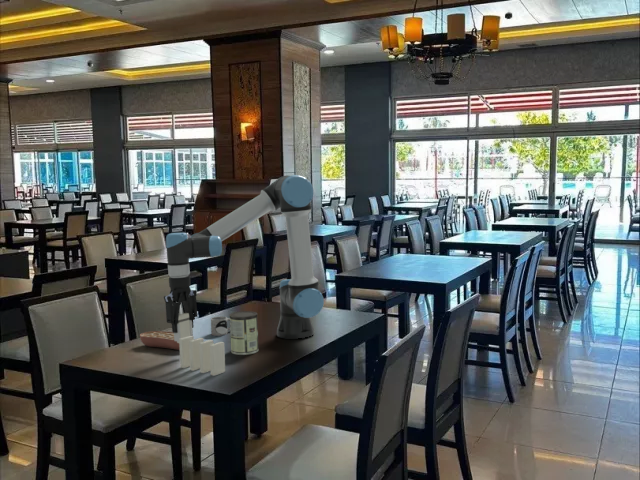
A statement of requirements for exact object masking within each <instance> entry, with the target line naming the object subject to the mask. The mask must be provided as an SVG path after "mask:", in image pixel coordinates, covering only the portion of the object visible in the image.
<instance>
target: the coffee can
mask: <svg viewBox="0 0 640 480" xmlns="http://www.w3.org/2000/svg"><path fill="white" fill-rule="evenodd" d="M229 318H230V321H229V327H230V330H229V333H230V348H231V349H230V352H231V354H233V355H239V356H245V355H246V356H247V355H252V354H256V353H258V352H259V331H258V313H257V312H256V311H252V310H251V311H249V310H248V311H247V310H242V311H235V312H232V313H230V314H229Z"/></svg>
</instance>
